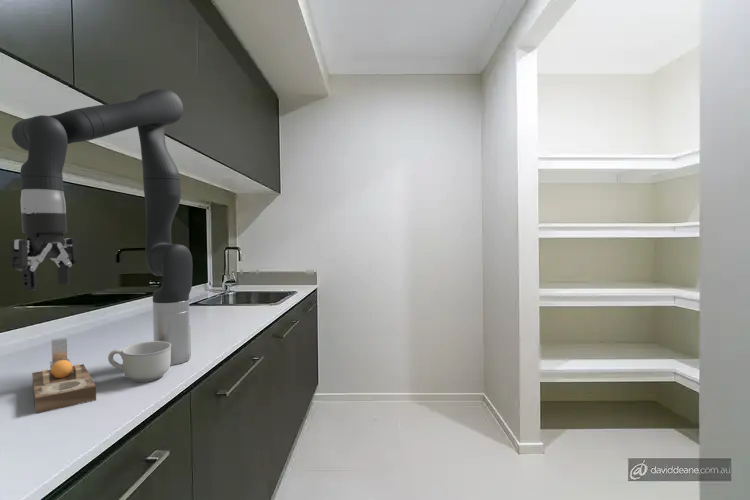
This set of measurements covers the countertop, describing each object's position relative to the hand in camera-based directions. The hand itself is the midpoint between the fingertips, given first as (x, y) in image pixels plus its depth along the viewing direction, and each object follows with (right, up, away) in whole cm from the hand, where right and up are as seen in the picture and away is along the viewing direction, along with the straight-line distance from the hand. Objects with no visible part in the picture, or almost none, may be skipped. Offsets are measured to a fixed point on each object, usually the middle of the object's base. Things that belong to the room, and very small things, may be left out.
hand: (48, 286), depth 89 cm
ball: (-1, -19, +5) cm, 20 cm away
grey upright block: (-4, -21, +9) cm, 23 cm away
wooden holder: (0, -24, +4) cm, 25 cm away
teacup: (+12, -24, +14) cm, 30 cm away
